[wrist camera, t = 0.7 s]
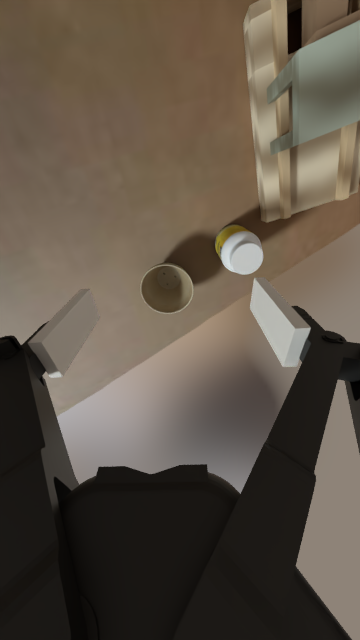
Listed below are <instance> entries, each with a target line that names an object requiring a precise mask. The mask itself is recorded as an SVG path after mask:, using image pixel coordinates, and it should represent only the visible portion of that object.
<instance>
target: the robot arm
mask: <svg viewBox="0 0 360 640" xmlns="http://www.w3.org/2000/svg"><path fill="white" fill-rule="evenodd" d="M250 309H251V311H252V313H253V315H254V316H255V318H256V320H257V322H258V324H259V325H260V327H261V329H262V331H263V332H264V334H265V336H266V338H267V339H268V341H269V343H270V345H271V346H272V348H273V350H274V352H275V354H276V355H277V357H278V359H279V360H280V362H281V364H282V366H283V367H293V366H294V367H295V366H297V364H298V362H299V359H300V360H301V361H302V364H301V366H300V369H299V371H298V373H297V375H296V377H295V379H294V382H293V384H292V386H291V388H290V390H289V393H288V395H287V397H286V399H285V401H284V403H283V406H282V408H281V410H280V412H279V414H278V416H277V419H276V421H275V423H274V425H273V427H272V429H271V432H270V434H269V436H268V438H267V440H266V442H265V443H264V445H263V447H262V449H261V452H260V453H259V456H258V458H257V460H256V462H255V464H254V466H253V468H252V471H251V473H250V475H249V477H248V479H247V482H246V484H245V486H244V488H243V490H242V492H241V494H240V493H239V492H238V491H237V490H236V489H235V488H234V487H233V486H232V485H230V484H229V483H228V482H227V481H225V480H224V479H222V478H221V477H219V476H216V475H215V474H212V473H209V472H208V471H207V465H179V466H176V467H173V468H170V469H167V470H164V471H161V472H158V473H155V474H147V473H144V472H140V471H138V470H134V469H132V468H128V467H125V466H117V467H99V468H98V472H97V475H96V476H95V477H93V478H90V479H88V480H86V481H85V482H83V483H81V484H80V485H79V483H78V481H77V480H76V477H75V475H74V472H73V469H72V466H71V463H70V460H69V456H68V453H67V450H66V446H65V443H64V440H63V437H62V433H61V430H60V427H59V424H58V420H57V417H56V414H55V411H54V407H53V404H52V401H51V398H50V395H49V391H48V388H47V385H46V382H45V379H44V378H43V376H42V375H43V374H44V373H45V371H46V372H47V373H48V375H49V376H50V377H63V376H64V374H65V372H66V371H67V369H68V368H69V366H70V364H71V363H72V361H73V360H74V358H75V356H76V355H77V353H78V352H79V350H80V348H81V347H82V345H83V344H84V342H85V341H86V339H87V337H88V336H89V334H90V333H91V331H92V329H93V328H94V326H95V325H96V323H97V321H98V320H99V318H100V315H99V313H98V310H97V307H96V304H95V301H94V299H93V296H92V293H91V290H90V289H81V290H80V291H79V292H78V293H77V294H76V295H75V296H74V297H73V298H72V299H71V300H70V301H69V302H68V303H67V304H66V305H65V306H64V307H63V308H62V309H61V310H60V311H59V312H58V313H57V314H56V315H55V316H54V317H53V318H52V319H51V320H50V321H48V322H47V323H45V324H43V325H42V326H41V327H40V328H39V329H38V330H37V331H36V332H35V333H34V334H33V335H32V336H31V337H30V338H29V339H28V340H27V341H26V342H25V343H24V344H22V345H20V343H19V342H18V340H17V339H16V338H15V336H5V337H1V338H0V640H352V639H351V638H350V637H349V636H348V634H347V633H346V631H345V630H344V629H343V627H342V626H341V625H340V624H339V622H338V621H337V620H336V618H335V617H334V616H333V614H332V613H331V612H330V611H329V609H328V608H327V607H326V605H325V604H324V603H323V601H322V600H321V599H320V597H319V596H318V595H317V593H316V592H315V591H314V590H313V588H312V587H311V586H310V585H309V583H308V582H307V580H306V579H305V578H304V577H303V575H302V574H301V573H300V571H299V570H298V569H297V567H296V562H297V558H298V553H299V550H300V545H301V541H302V537H303V533H304V529H305V524H306V521H307V516H308V512H309V508H310V504H311V500H312V495H313V492H314V487H315V482H316V476H315V474H314V470H315V465H316V462H317V458H318V454H319V450H320V445H321V442H322V438H323V434H324V430H325V426H326V422H327V418H328V415H329V410H330V406H331V403H332V399H333V395H334V391H335V387H336V383H337V380H338V379H339V380H344V381H345V385H346V389H347V394H348V399H349V404H350V409H351V414H352V419H353V424H354V428H355V433H356V438H357V443H358V448H359V453H360V344H359V343H351V342H346V340H345V338H344V337H342V336H341V335H339V334H337V333H335V332H331V331H325V330H324V329H323V328H322V327H321V326H320V325H319V324H318V323H317V322H316V321H315V320H314V319H312V317H311V316H309V314H308V313H307V312H306V311H305V310H304V309H302V308H300V307H298V306H290V304H289V303H288V302H287V301H286V300H285V299H284V298H283V297H282V296H281V295H280V294H279V293H278V292H277V290H276V289H275V288H274V287H273V286H272V285H271V284H270V283H269V282H268V281H267V280H266V279H265V277H261V278H254V284H253V290H252V297H251V304H250Z"/></svg>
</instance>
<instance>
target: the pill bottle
mask: <svg viewBox="0 0 360 640" xmlns="http://www.w3.org/2000/svg"><path fill="white" fill-rule="evenodd" d="M215 249H216V252H217V253H218V255H219V257H220V259H221V261H222V262H223V264H224V266H225V267H226V268H227V269H228V270H230V271H232V272H237V273H239V274H243V275H246V274H250V273H253V272H254V271H256V270H257V269H258V268H259V267H260V265H261V263H262V261H263V251H262V246H261V242H260V240H259V238H258V237H257V236H256V235H255V234H253V233H252V232H250V231H249V230H247V229H245V228H244V227H242V226H240V225H236V224H232V225H228V226H226V227H224V228H223V229H221V230H220V232H219V233H218V235H217V237H216V240H215Z"/></svg>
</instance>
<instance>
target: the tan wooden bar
mask: <svg viewBox="0 0 360 640" xmlns="http://www.w3.org/2000/svg"><path fill="white" fill-rule="evenodd" d="M347 11H348V0H302V48H303V47H305V46H307V45H309V44H311V43H313V42H315V41H317V40H319V39H322V38H324V37H326V36H328V35H330V34H332V33H334V32H336V31H338V30H340V29H342V28H344V27H347V26H349V25H351V24H353V23H355V22H357V21H359V20H360V10H358V11H356V12H354V13H352V14H350V15H348V16H347Z"/></svg>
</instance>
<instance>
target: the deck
mask: <svg viewBox="0 0 360 640" xmlns="http://www.w3.org/2000/svg"><path fill="white" fill-rule="evenodd" d="M301 7H302V0H259V1H257V2H255V3H253V4H252V5H250V6H249V9H248V12H247V14H246V17H245V20H244V23H243V32H244V42H245V53H246V64H247V74H248V85H249V96H250V106H251V117H252V128H253V138H254V149H255V160H256V170H257V181H258V192H259V202H260V213H261V221H264V222H266V223H268V222H271V221H274V220H277V219H280V218H282V219H287V218H290V217H291V215H292V214H294V213H297V212H300V211H303V210H306V209H309V208H312V207H315V206H318V205H321V204H324V203H327V202H330V201H333V200H343V199H346V198H349V195H351V194H354V193H357V192H358V185H359V178H360V20H359V21H357V22H355V23H353V24H351V25H349V26H347V27H344V28H342V29H340V30H338V31H336V32H334V33H332V34H330V35H328V36H326V37H324V38H322V39H319V40H317V41H315V42H313V43H311V44H309V45H307V46H305V47H303V48H301V49H299V50H297V51H295V52H293V53H291V54H289V55H288V41H287V15H288V14H289V13H291V12H293V11H295V10H297V9H299V8H301ZM358 10H360V0H348V11H347V16H348V15H350V14H352V13H354V12H356V11H358Z"/></svg>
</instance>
